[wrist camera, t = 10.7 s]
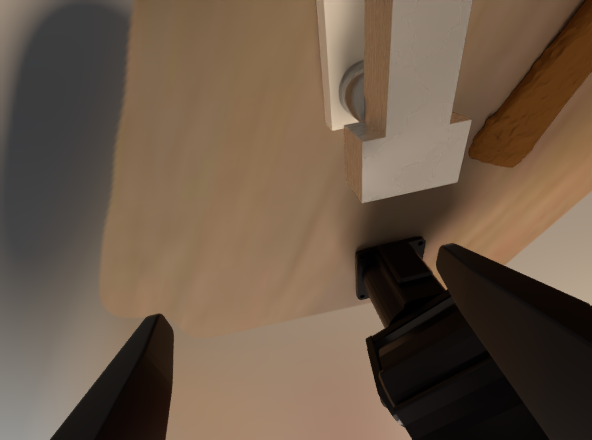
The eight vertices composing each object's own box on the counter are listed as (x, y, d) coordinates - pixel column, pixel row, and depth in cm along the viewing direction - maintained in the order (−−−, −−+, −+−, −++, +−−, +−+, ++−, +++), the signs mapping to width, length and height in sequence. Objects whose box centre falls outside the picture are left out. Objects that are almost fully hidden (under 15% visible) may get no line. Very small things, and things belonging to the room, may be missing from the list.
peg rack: (384, 111, 19) (426, 136, 15) (325, 123, 18) (351, 151, 14) (397, -188, 12) (485, -301, 8) (302, -176, 11) (341, -286, 7)
